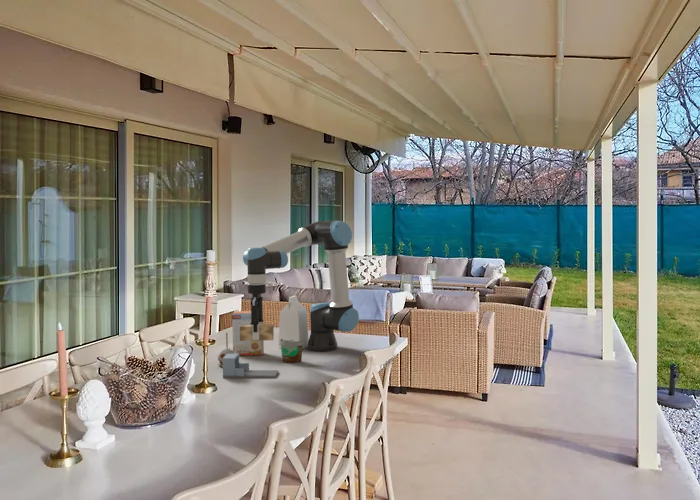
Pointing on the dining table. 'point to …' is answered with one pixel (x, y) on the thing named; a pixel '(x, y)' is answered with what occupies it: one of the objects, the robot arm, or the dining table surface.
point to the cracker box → (238, 345)
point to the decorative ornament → (224, 352)
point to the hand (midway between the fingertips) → (257, 338)
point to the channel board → (256, 374)
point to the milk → (293, 322)
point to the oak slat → (264, 332)
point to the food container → (291, 351)
